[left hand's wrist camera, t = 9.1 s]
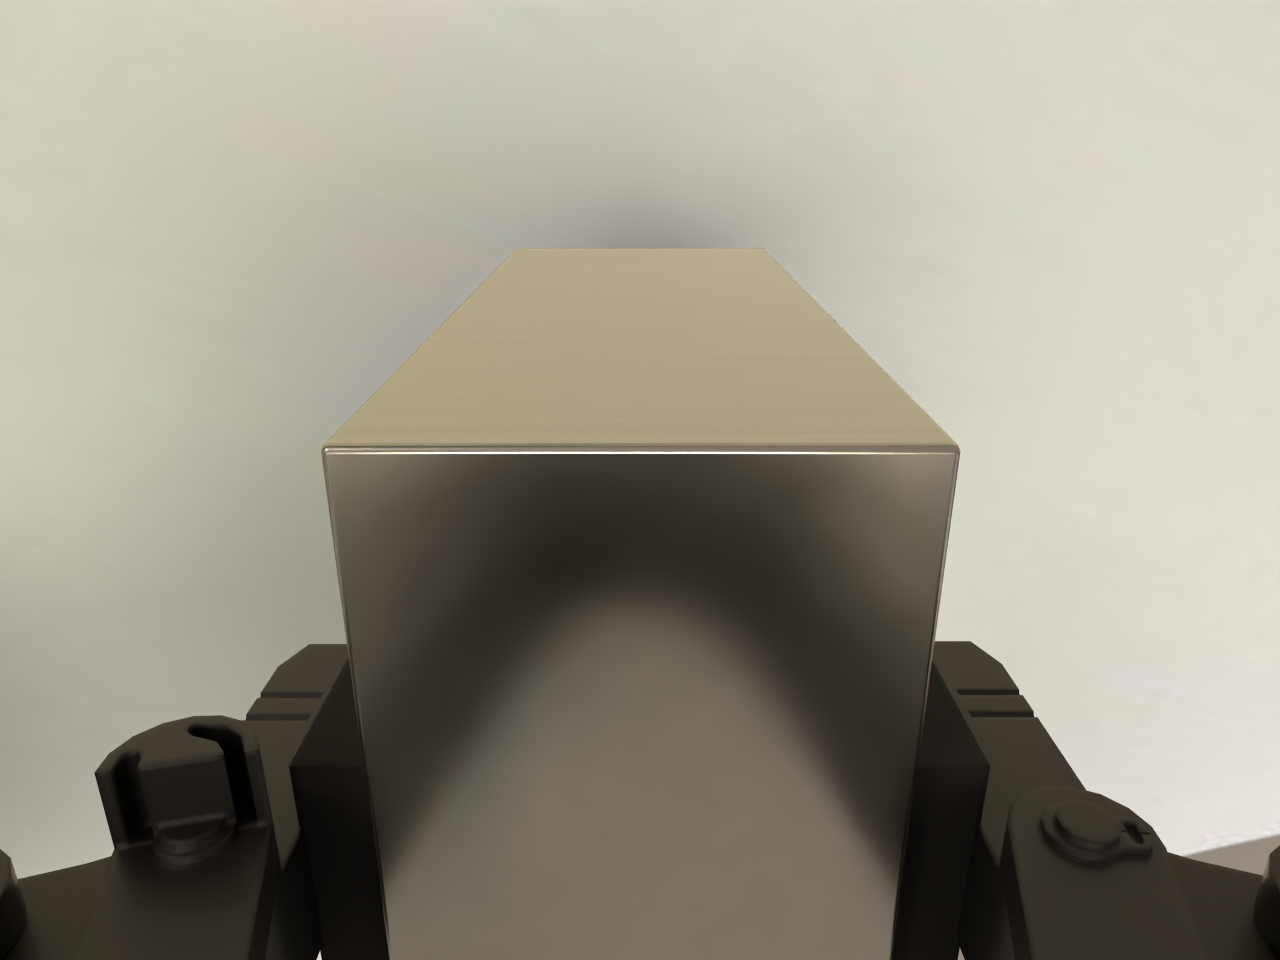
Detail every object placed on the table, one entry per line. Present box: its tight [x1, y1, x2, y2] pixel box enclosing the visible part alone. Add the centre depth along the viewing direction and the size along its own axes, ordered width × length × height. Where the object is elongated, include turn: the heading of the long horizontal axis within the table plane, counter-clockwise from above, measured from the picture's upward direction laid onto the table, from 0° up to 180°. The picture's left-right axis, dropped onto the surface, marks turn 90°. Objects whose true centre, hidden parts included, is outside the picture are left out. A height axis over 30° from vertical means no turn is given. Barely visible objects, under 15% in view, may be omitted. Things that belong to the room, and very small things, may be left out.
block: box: [321, 249, 960, 960], centre depth 14 cm, size 5×9×11 cm, turn 0°
